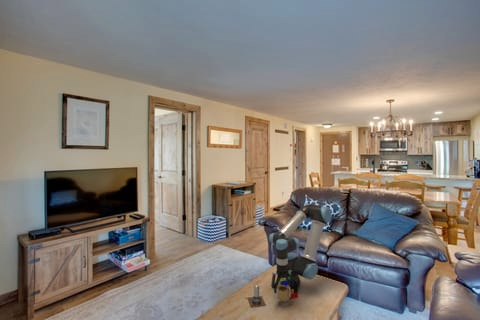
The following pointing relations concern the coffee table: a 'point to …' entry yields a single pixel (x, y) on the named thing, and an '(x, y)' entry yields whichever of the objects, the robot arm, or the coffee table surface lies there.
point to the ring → (283, 292)
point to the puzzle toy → (293, 290)
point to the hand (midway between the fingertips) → (282, 296)
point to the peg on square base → (256, 298)
